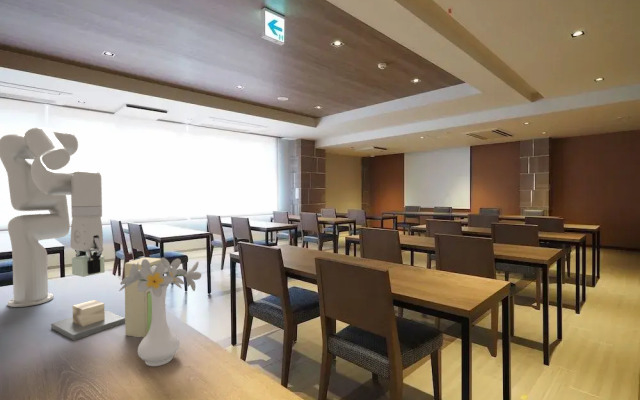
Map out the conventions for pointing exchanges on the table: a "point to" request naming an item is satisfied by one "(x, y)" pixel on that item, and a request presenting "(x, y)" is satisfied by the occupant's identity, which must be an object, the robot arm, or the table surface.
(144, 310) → the toy refrigerator
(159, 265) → the flower vase
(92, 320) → the birch block
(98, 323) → the base plate
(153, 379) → the table surface
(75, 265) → the sage block
